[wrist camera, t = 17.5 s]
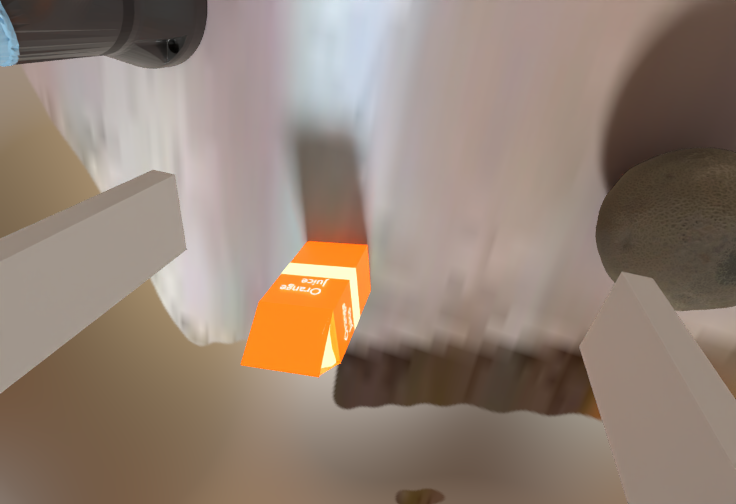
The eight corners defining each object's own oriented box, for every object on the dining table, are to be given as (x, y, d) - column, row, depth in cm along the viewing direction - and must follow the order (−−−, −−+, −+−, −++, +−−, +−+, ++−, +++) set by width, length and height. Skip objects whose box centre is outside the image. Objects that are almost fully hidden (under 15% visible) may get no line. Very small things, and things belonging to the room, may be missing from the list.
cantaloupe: (773, 177, 37) (920, 254, 25) (649, 276, 45) (714, 373, 33) (652, 100, 37) (741, 140, 24) (547, 214, 44) (574, 289, 32)
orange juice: (371, 291, 56) (324, 404, 39) (314, 285, 58) (247, 391, 42) (367, 243, 52) (314, 346, 36) (306, 239, 54) (229, 335, 38)
